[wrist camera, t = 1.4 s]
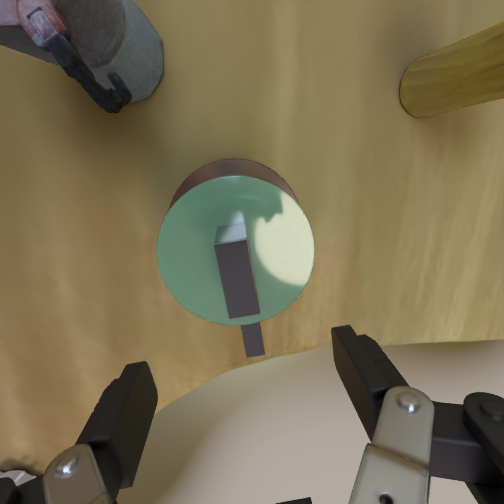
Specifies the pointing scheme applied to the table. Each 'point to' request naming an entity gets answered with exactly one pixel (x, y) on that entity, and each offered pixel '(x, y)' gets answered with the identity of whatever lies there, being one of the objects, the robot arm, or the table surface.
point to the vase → (456, 75)
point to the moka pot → (89, 44)
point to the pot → (236, 253)
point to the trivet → (232, 167)
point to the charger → (17, 476)
